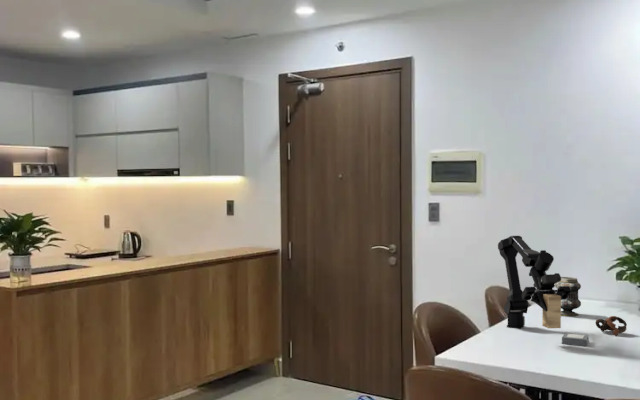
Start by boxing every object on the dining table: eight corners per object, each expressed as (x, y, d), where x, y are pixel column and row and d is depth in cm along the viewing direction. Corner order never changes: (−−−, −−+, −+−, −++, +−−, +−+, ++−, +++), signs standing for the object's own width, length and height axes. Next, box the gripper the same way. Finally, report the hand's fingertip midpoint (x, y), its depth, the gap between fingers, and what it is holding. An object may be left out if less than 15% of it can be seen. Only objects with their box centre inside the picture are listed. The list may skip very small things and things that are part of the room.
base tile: (561, 343, 257) (562, 337, 257) (564, 339, 265) (564, 332, 265) (586, 346, 253) (586, 339, 253) (588, 341, 261) (588, 334, 261)
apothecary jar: (583, 313, 319) (583, 277, 318) (578, 317, 308) (578, 279, 308) (557, 311, 325) (557, 275, 325) (551, 315, 315) (551, 278, 315)
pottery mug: (619, 332, 280) (627, 317, 276) (622, 346, 272) (630, 331, 268) (591, 324, 282) (598, 309, 278) (593, 338, 274) (600, 323, 270)
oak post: (542, 325, 258) (542, 294, 258) (554, 325, 259) (554, 293, 259) (548, 328, 253) (548, 296, 253) (560, 328, 254) (560, 296, 254)
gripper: (524, 266, 258) (537, 299, 248) (569, 265, 261) (583, 298, 250) (516, 283, 266) (528, 315, 256) (559, 282, 269) (573, 314, 258)
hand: (553, 310), depth 255 cm, fingers closed on oak post, 5 cm apart
